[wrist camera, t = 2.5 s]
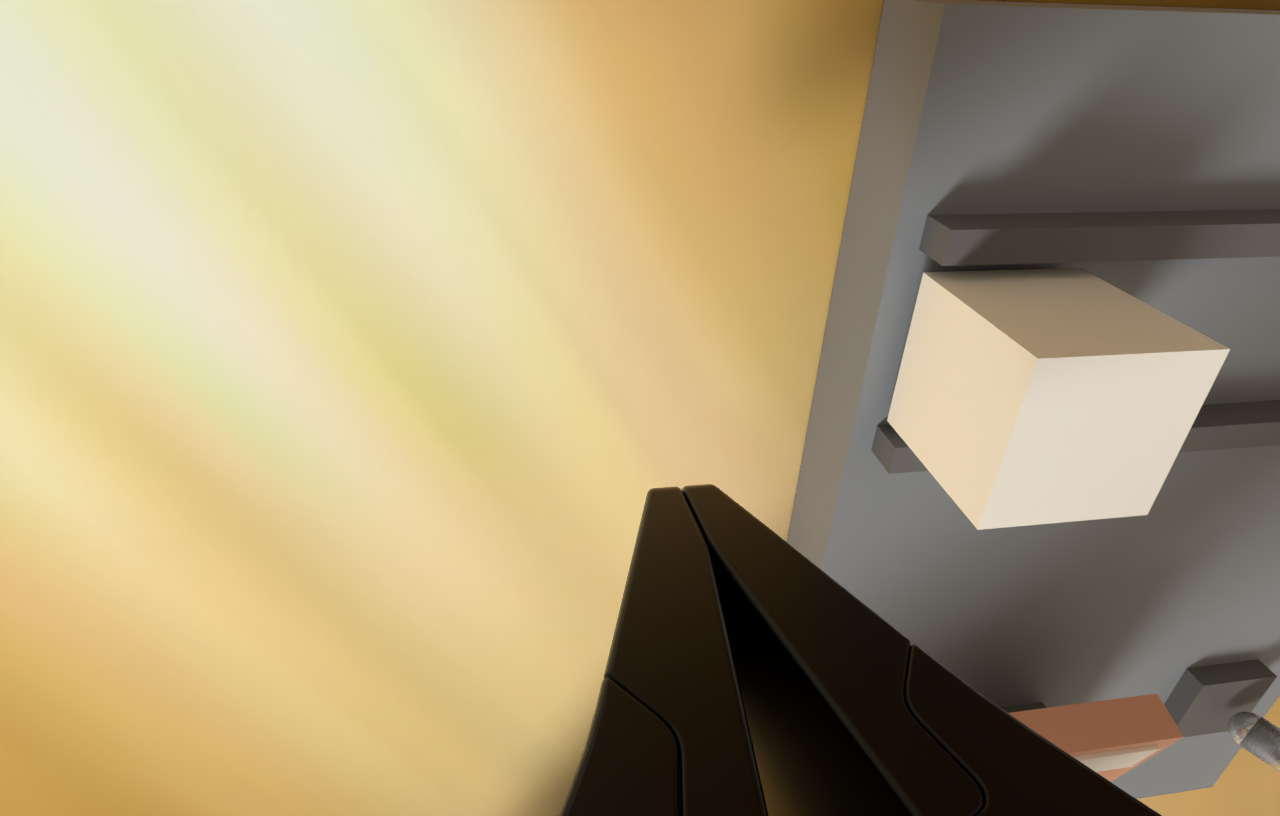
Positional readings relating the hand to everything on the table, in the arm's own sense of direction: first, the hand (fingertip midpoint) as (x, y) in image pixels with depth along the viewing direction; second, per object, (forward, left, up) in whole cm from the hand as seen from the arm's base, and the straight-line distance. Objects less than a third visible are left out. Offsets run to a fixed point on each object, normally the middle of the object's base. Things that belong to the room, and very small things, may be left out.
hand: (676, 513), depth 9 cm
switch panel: (+13, -6, -6) cm, 15 cm away
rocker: (+11, -12, -2) cm, 16 cm away
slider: (+7, 0, -4) cm, 8 cm away
